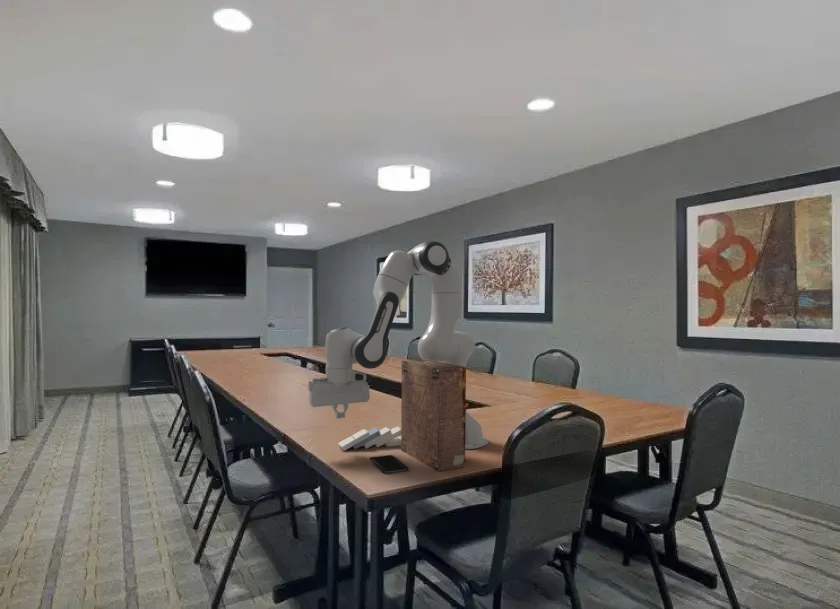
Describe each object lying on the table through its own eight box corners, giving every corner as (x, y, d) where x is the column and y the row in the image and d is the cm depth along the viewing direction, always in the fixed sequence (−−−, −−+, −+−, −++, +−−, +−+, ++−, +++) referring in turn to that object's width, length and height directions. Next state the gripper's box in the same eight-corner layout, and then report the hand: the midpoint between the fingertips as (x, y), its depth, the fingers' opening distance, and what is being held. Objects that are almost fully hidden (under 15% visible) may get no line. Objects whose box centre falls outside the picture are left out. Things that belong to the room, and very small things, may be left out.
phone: (384, 471, 145) (368, 457, 159) (384, 475, 145) (368, 461, 159) (410, 468, 148) (392, 454, 162) (410, 472, 148) (392, 458, 162)
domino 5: (382, 443, 179) (408, 440, 183) (386, 446, 174) (413, 443, 178) (382, 438, 179) (408, 435, 183) (386, 442, 174) (413, 439, 178)
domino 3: (362, 444, 176) (387, 430, 179) (366, 448, 171) (392, 434, 175) (360, 440, 176) (386, 426, 179) (364, 444, 171) (390, 429, 174)
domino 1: (339, 447, 173) (365, 432, 176) (343, 451, 168) (370, 436, 172) (338, 443, 172) (363, 428, 176) (341, 446, 168) (368, 431, 171)
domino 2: (351, 445, 175) (376, 431, 178) (354, 449, 170) (381, 434, 174) (349, 441, 175) (375, 427, 178) (352, 445, 170) (379, 430, 173)
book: (400, 450, 170) (401, 360, 170) (425, 446, 174) (425, 359, 174) (438, 472, 147) (439, 368, 147) (465, 467, 151) (466, 366, 152)
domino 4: (373, 443, 177) (399, 430, 180) (377, 447, 173) (403, 433, 176) (372, 439, 177) (397, 426, 180) (375, 443, 172) (401, 429, 175)
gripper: (310, 379, 162) (311, 423, 161) (370, 374, 171) (371, 416, 171) (305, 377, 168) (306, 420, 167) (364, 373, 177) (365, 413, 176)
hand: (340, 418), depth 169 cm, fingers closed
